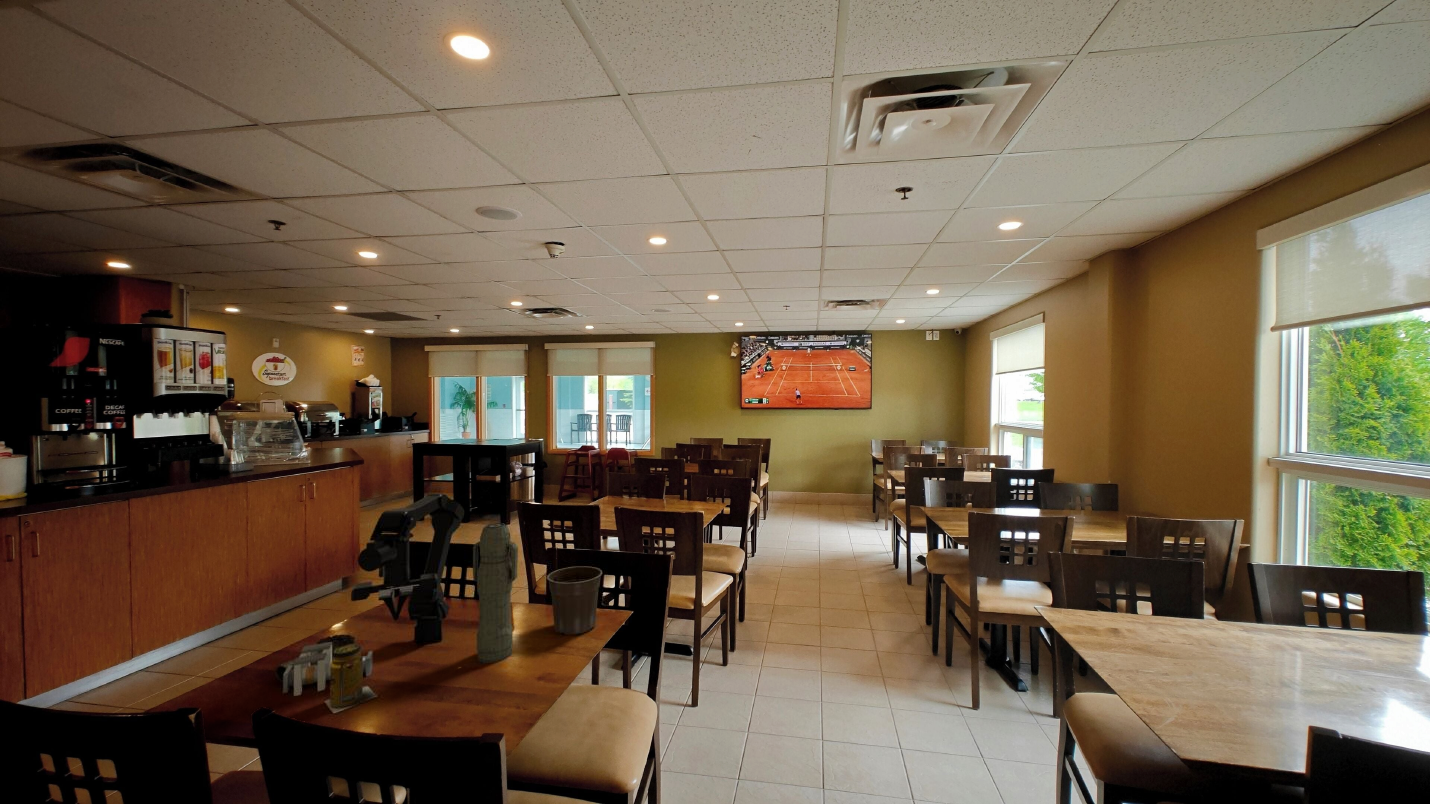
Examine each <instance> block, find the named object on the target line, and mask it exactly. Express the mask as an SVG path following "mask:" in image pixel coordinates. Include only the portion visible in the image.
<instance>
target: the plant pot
mask: <svg viewBox="0 0 1430 804" xmlns="http://www.w3.org/2000/svg"><path fill="white" fill-rule="evenodd" d="M602 575H603V571H602V570H601V569H600V568H598V567H593V566H588V565H587V566H585V565H584V566H582V565H581V566H580V565H578V566H570V567H565V568H564V567H563V568H560V569H557V570H554V571H551V572H550V573H549V574H547V577H546V579H547V581H548V585H549V586H548V588H549V591H550V595H551V604H552V613H553V614H552V617H553V624H554V626H553V627H554V628H553V629H554V631H555V632H556V633H558V634H560V635H561V634H564V635H567V636H571V635H574V636H575V635H580V634H584V633H587V632H589V631H590V630H591V629H593V628H595V627H596V622H597V608H598V600H599V599H598V597H599V588H600V586H601V577H602Z"/></svg>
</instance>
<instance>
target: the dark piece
mask: <svg viewBox="0 0 1430 804" xmlns="http://www.w3.org/2000/svg"><path fill="white" fill-rule="evenodd" d="M355 640H356V637H355V636H352V635H350V634H335V635H332V636H330V635H329V636H327V637H324V638H323V637H322V638H320V640H319V641H317V642H316V644H322V643H328V642H332V654H333V651H334V650H335V649H337V648H339V647H341V646H344V645H349V644H356V643H355V642H356V641H355ZM322 652H323V650H320V651H314V652H310V655H315V654H321V653H322ZM297 658H298V657H296V658H293V659H291V660H289V661H287V662H284V663H281V664H280V665H277V667H276V668H275V672H274V673H275V677H276V679H277V680H278V682H280V683H283V674H284V672H285V671H286V669H287V668H288V666H291V665H293V669H294V663H295V661H296V659H297ZM332 659H333V655H332ZM311 665H318V661H316V662H310V666H311ZM302 668H303V666H302Z"/></svg>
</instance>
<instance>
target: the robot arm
mask: <svg viewBox="0 0 1430 804" xmlns="http://www.w3.org/2000/svg"><path fill="white" fill-rule="evenodd" d="M428 515H429V517H430V518H431V520H430V523H431V527H432V529H433V532H434V533H433V537H432V540H431V545H430V549H429V551H428V552H429V553H428V557H427V561H426V565H425V568H424V570H423V571H424V572H423V574H420V578H418V579H411V568H410V539H412V538H414V534H413V533H412V532H411V531H413V529H414V528H416V527H417V522H418V521H419V520H421V519H423V518H425V517H426V516H428ZM464 516H465V509H464V507H463V506H462V505H461V504H460V503H459V501H456V500H453V499H452V498H450V497H449V496H448V495H446V494H444V493H429V494H426V495H425V496H424V497H423V498H420V499H419V500H417V501H415V502H413V503H411V504H409V505H406V506H405V507H401V508H393V509H388V510H384V511H383V512H381V515H380V516H379V518H378V520H377V522H376V524H375V526H374V528H373V531H372V533H371V535H370V538H369V541H368V542H366V546H365V547H366V548H364V549H362V550H361V551H360V553H359V555H358V557H357V563H358V566H359V567H360V569H362V571H365V572H374V571H376V570H378V578H379V579H380V578H383V579H382V580H383V581H382V582H383V583H382V584H375V585H373V581H366V582H359V583H356V584H354V586H353V587H352V590H351V591H350V601H351V602H356V601H363V600H367V599H368V598H369V597H370V596H371V594H378V595H379V596H378V601H383V602H384V604H385V605H386V606H387V608H388V610H389V612H390V614H391V616H392V619H393V620H394V621H398V620H399V618H400V615H401V612H402V610H403V606H404V604H405V602H406V600H407V598H408V597H409V600H408V601H407V603H408V604H407V612H408V615H409V620H410V621H411V622H412V621H416V623H415V624H414V631H413V632H414V635H413V638H414V642H415V645H416V646H420V645H421V646H422V645H426V644H431V643H436V642H442V641H443V620H444V619H447V617H448V615H449V612H450V606H449V605H448V604H447V603H446V602H445V600H444V597H445V593H444V590H443V587H442V585H441V582H442V578H443V574H444V570H445V566H446V562H447V557H448V553H449V550H450V549H449V548H450V544H451V541H452V538H453V537H452V536H453V535H454V534H455V532H456V531H458V529H459V528H460V526H461V524H462V521H463V519H464ZM410 579H411V580H410ZM395 591H399V593H398V598H397V599H398V600H397V606H396V601H395Z"/></svg>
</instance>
